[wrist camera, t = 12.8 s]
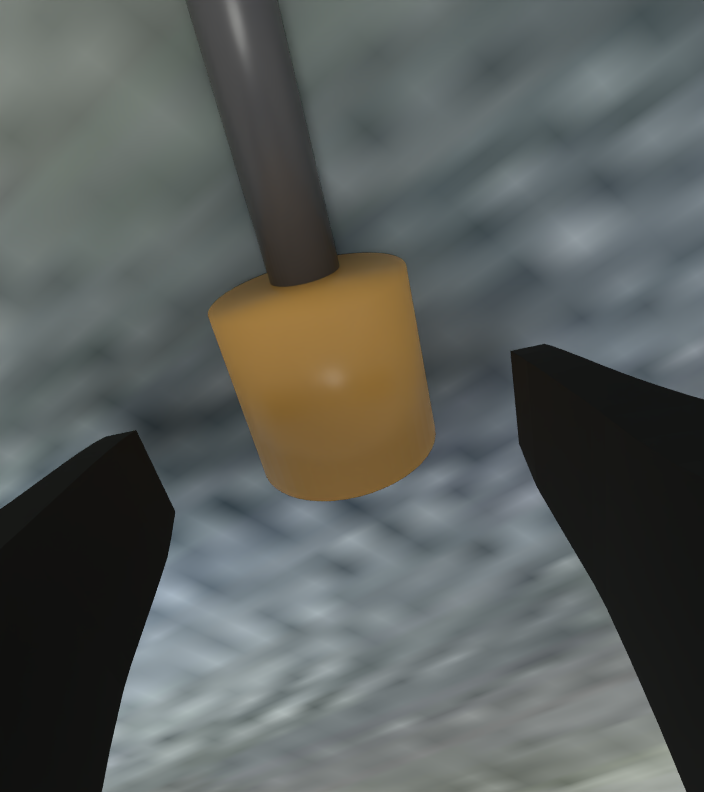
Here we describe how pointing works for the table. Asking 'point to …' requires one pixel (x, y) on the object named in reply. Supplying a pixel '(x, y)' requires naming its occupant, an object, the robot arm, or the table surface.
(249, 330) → the plug
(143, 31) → the table surface
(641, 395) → the robot arm
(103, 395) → the table surface
